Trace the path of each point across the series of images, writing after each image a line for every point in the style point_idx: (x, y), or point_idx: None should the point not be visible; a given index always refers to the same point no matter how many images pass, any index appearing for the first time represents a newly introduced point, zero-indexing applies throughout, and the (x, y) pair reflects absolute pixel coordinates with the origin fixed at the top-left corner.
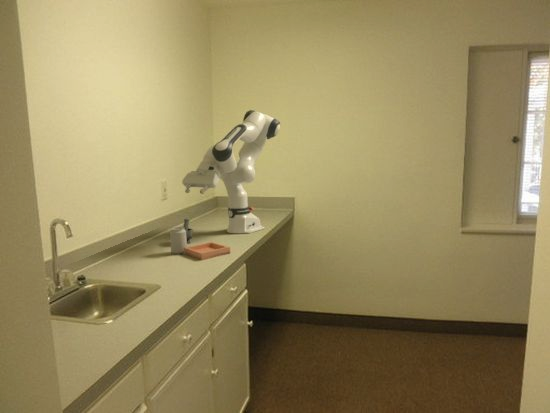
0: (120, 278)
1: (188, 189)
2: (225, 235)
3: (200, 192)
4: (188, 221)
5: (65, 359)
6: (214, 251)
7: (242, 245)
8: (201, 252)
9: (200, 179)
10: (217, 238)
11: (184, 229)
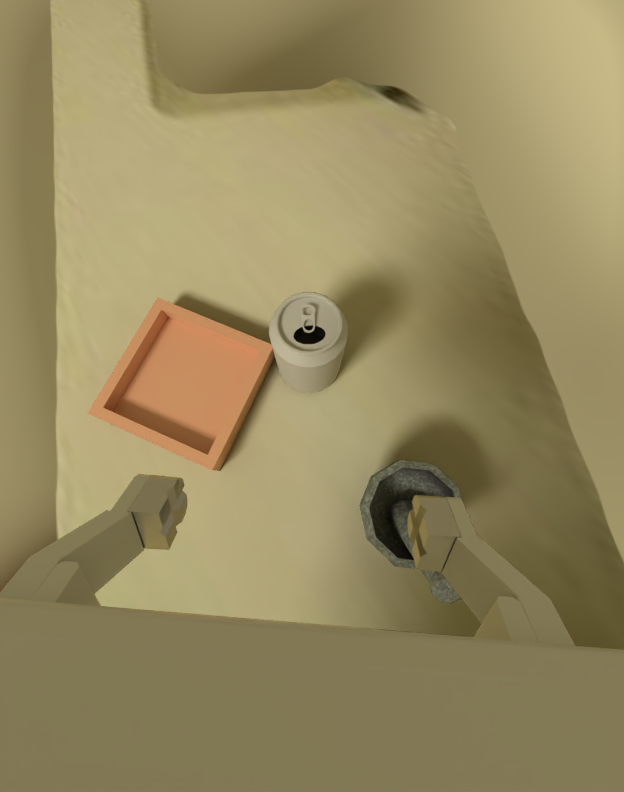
0: (297, 119)
1: (422, 530)
2: None
3: (173, 480)
4: (430, 580)
5: None
6: (130, 346)
7: None
8: (166, 309)
9: (159, 783)
10: None
11: (282, 346)
